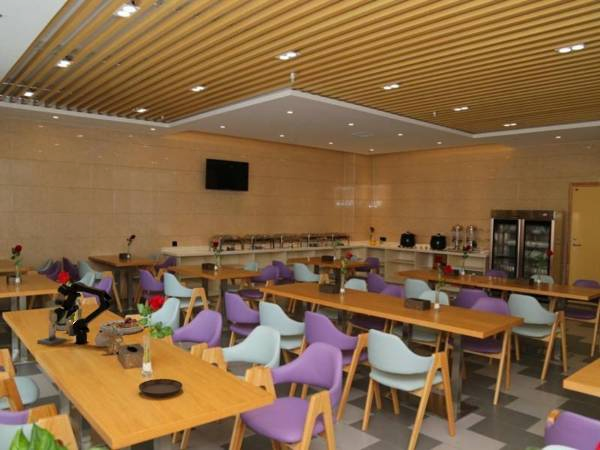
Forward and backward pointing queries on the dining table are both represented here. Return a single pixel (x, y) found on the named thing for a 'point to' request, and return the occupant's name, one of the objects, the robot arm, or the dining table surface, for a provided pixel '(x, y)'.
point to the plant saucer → (160, 387)
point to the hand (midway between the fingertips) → (62, 320)
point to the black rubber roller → (71, 331)
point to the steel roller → (52, 332)
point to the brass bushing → (68, 326)
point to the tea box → (62, 323)
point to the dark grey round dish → (47, 342)
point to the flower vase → (109, 339)
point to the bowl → (122, 326)
